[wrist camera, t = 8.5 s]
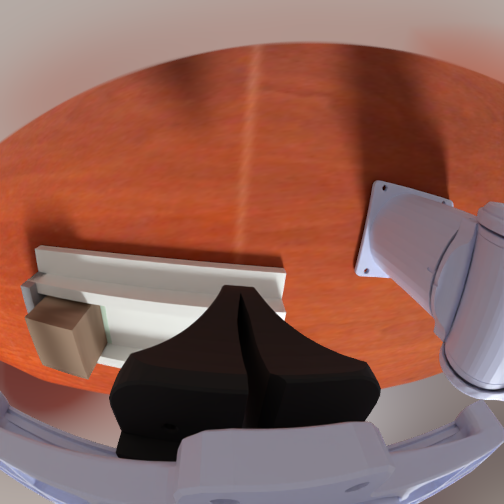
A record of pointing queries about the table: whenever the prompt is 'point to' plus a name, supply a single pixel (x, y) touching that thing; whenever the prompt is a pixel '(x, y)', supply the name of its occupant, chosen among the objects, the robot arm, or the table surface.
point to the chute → (143, 292)
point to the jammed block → (67, 334)
